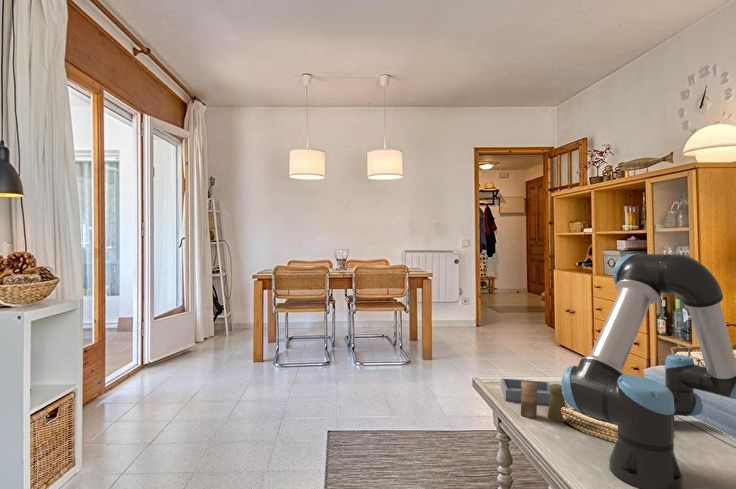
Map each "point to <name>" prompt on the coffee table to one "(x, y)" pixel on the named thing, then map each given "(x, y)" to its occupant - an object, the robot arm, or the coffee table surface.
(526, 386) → the walnut cylinder
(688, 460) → the coffee table surface
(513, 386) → the tote
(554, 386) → the cork
